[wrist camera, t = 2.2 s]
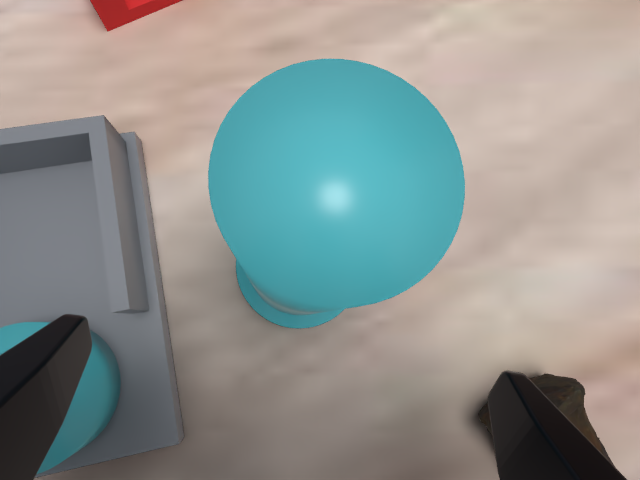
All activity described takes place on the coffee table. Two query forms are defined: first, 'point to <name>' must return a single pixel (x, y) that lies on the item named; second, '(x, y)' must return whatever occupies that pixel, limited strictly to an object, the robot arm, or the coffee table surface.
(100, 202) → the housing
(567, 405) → the hand tool
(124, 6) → the bracket
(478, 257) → the coffee table surface
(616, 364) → the coffee table surface
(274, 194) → the teal peg
